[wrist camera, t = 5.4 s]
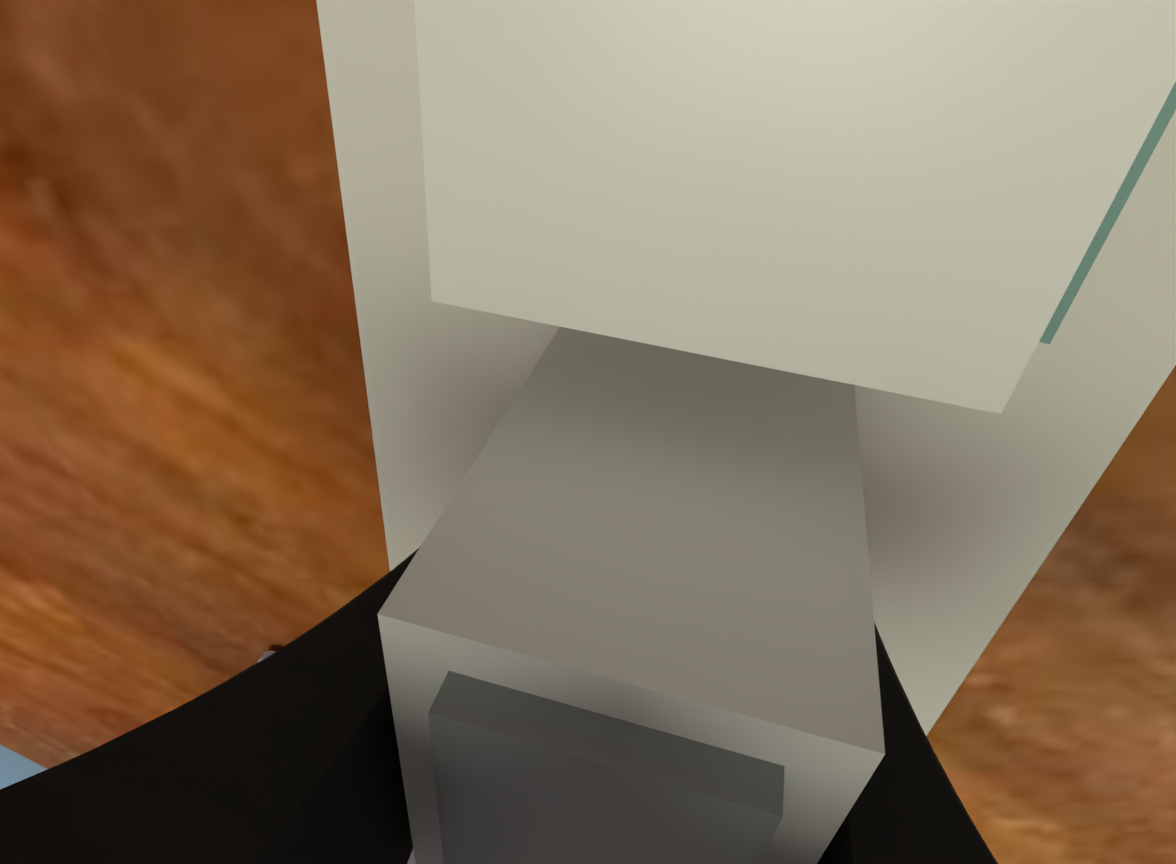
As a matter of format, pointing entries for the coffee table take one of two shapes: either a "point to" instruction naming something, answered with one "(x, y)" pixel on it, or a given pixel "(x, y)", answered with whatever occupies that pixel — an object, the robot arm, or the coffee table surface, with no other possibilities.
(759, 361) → the mounted modules
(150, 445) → the coffee table surface
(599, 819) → the block
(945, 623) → the board
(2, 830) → the robot arm
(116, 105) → the coffee table surface
